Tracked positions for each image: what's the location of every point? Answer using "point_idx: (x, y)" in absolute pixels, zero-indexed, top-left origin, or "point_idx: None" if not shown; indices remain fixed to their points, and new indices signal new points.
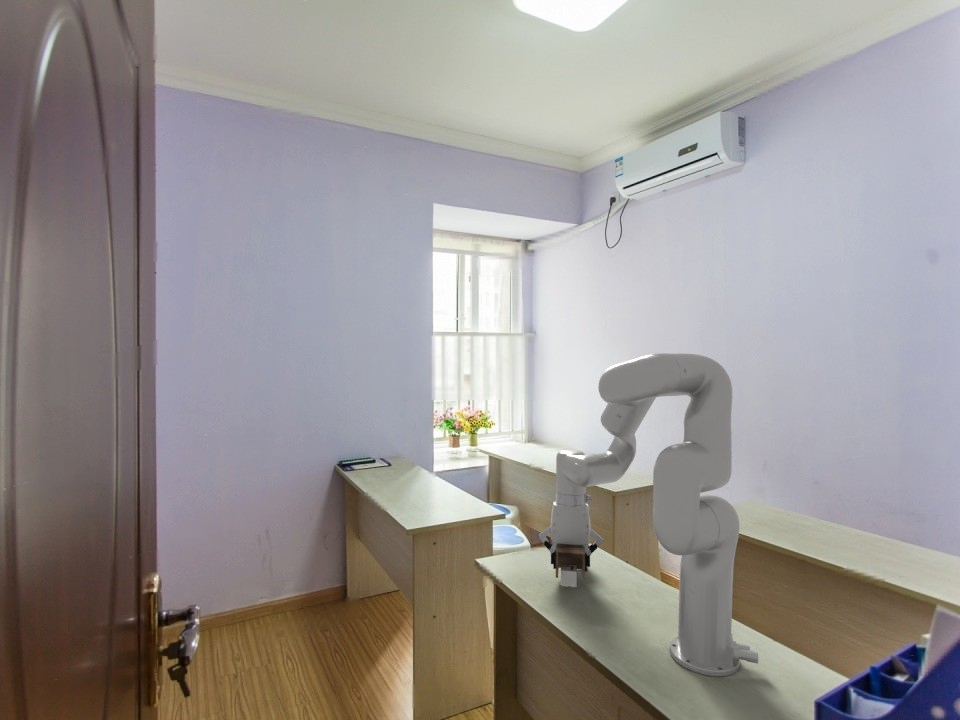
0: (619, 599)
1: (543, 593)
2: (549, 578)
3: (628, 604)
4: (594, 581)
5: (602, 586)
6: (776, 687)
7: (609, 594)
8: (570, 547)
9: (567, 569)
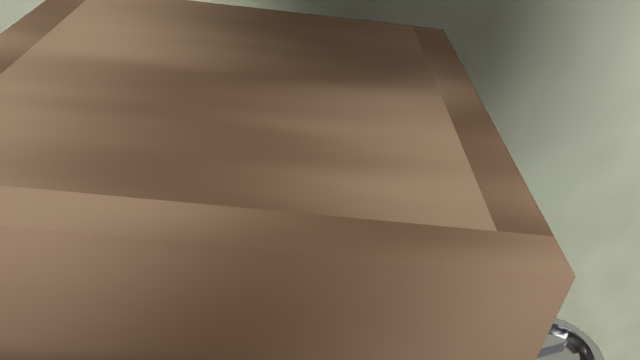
0: (596, 304)
1: None
2: (38, 3)
3: (623, 350)
4: (521, 28)
5: (559, 128)
6: None
7: None
8: None
9: None
